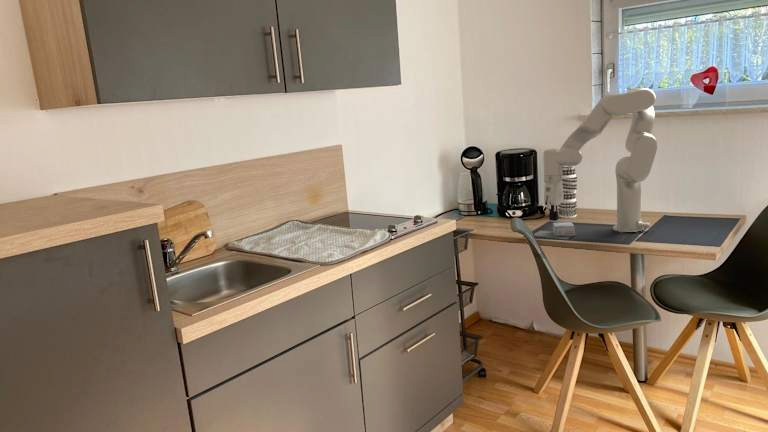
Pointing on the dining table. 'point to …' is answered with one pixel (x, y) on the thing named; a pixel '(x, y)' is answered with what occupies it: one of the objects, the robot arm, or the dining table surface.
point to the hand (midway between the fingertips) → (553, 220)
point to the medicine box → (563, 229)
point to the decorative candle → (568, 193)
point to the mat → (550, 235)
